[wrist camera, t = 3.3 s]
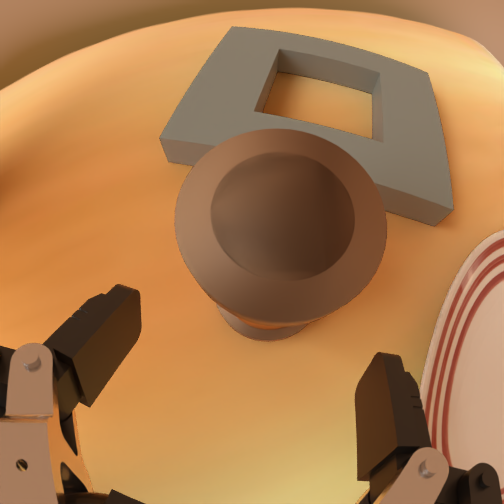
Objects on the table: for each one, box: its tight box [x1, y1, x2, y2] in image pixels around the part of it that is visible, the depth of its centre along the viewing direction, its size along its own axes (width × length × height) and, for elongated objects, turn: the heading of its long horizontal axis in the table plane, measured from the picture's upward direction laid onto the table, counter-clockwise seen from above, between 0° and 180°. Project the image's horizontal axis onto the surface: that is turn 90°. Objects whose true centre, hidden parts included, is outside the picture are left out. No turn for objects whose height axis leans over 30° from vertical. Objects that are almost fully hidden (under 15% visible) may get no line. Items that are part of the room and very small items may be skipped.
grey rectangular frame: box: [159, 26, 454, 226], centre depth 23 cm, size 22×18×3 cm
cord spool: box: [175, 128, 387, 342], centre depth 14 cm, size 7×7×11 cm
